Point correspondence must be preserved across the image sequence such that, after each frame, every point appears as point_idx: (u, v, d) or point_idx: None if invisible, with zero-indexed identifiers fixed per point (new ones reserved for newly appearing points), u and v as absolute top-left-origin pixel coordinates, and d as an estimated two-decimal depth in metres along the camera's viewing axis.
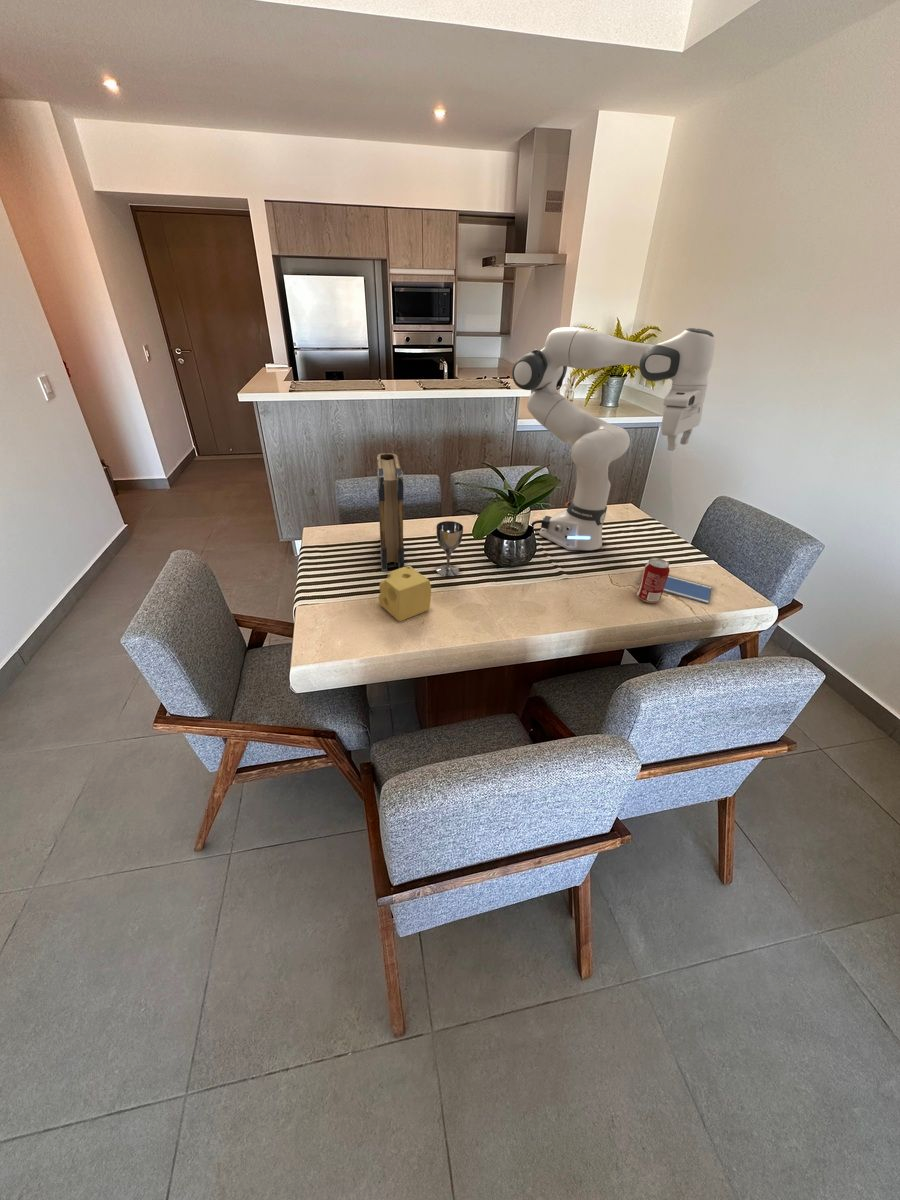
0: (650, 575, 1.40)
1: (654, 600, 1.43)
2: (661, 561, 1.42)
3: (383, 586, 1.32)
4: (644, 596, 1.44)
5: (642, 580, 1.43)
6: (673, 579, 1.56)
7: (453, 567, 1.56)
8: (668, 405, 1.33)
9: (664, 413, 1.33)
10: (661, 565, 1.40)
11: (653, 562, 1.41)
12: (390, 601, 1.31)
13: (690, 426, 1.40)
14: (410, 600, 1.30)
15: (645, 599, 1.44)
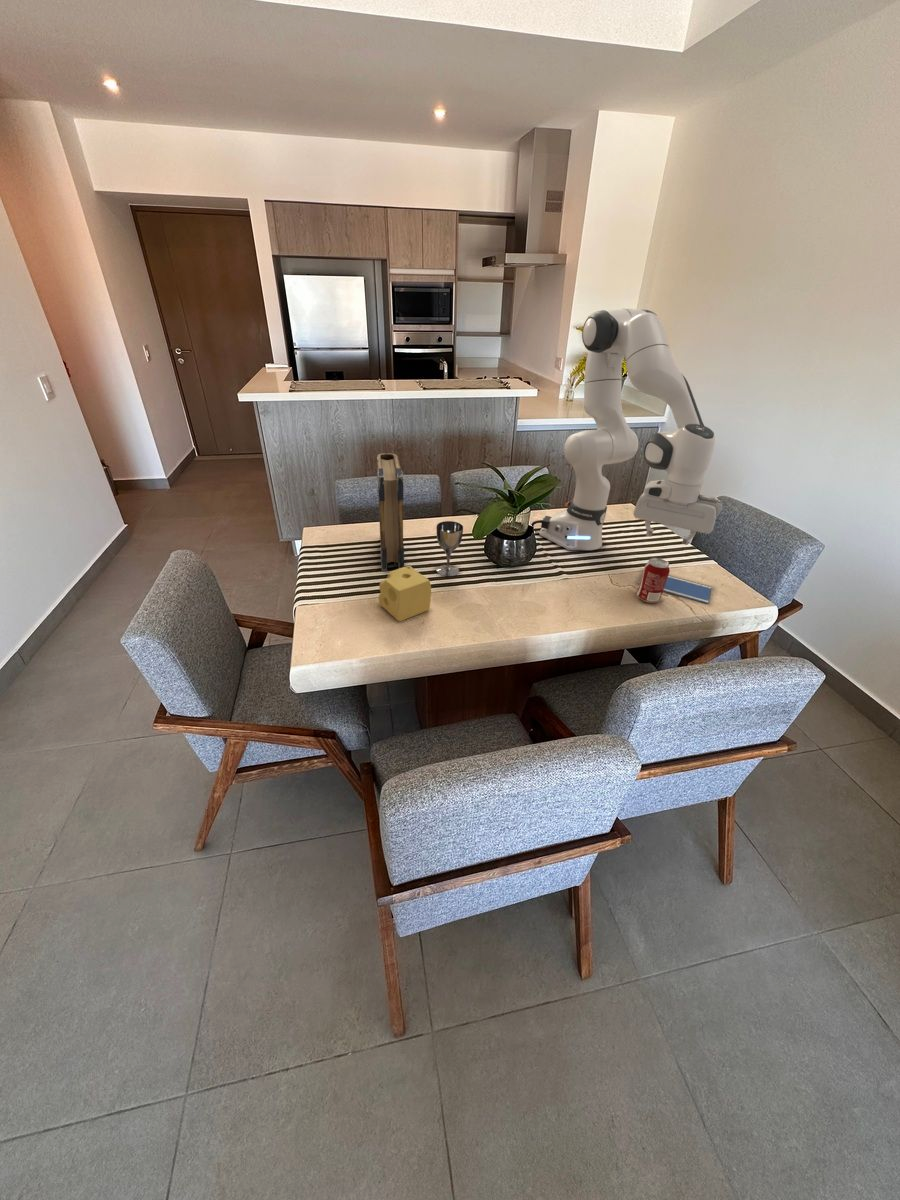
0: (650, 575, 1.40)
1: (654, 600, 1.43)
2: (661, 561, 1.42)
3: (382, 586, 1.32)
4: (644, 596, 1.44)
5: (642, 580, 1.43)
6: (673, 579, 1.56)
7: (453, 567, 1.56)
8: None
9: None
10: (661, 565, 1.40)
11: (653, 562, 1.41)
12: (390, 601, 1.31)
13: (678, 524, 1.31)
14: (410, 600, 1.30)
15: (645, 599, 1.44)
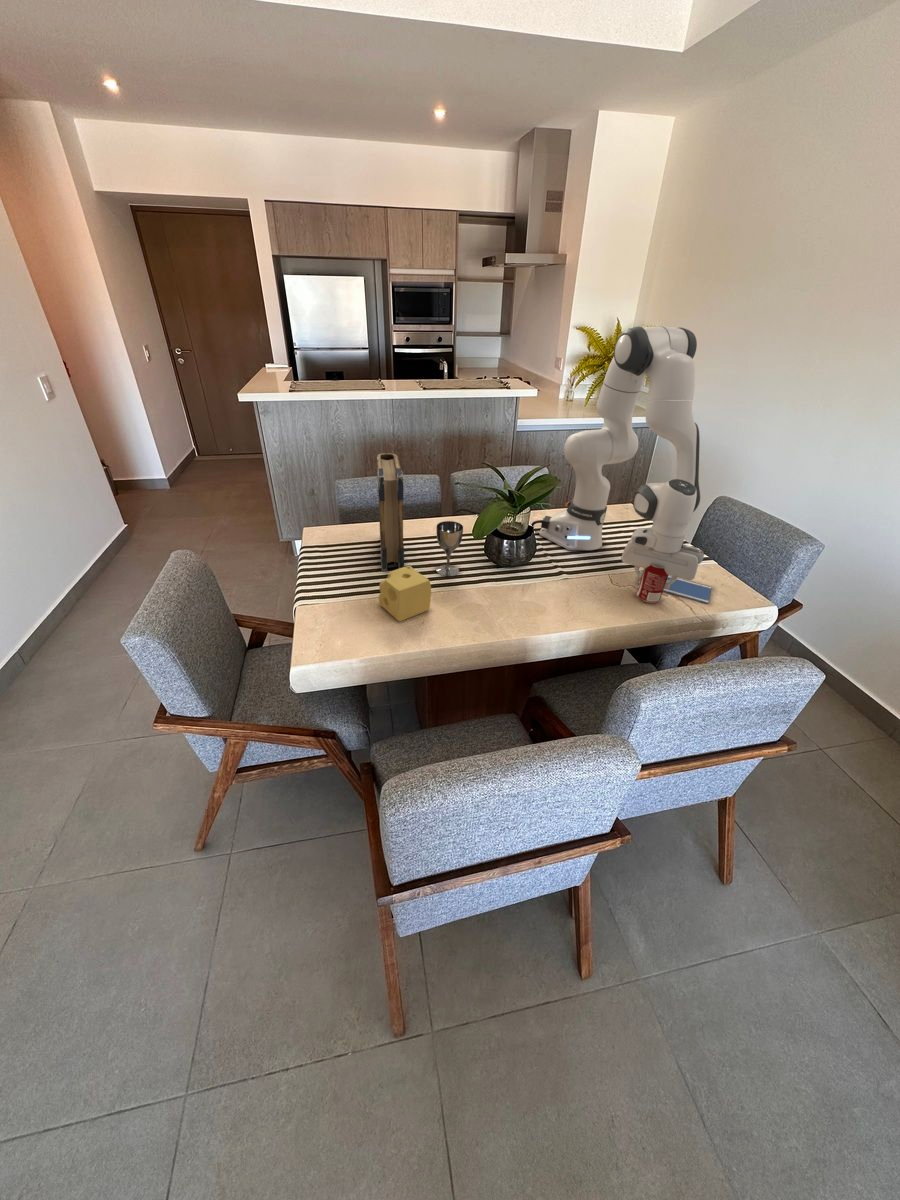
0: (650, 575, 1.40)
1: (654, 600, 1.43)
2: None
3: (382, 586, 1.32)
4: (644, 596, 1.44)
5: (642, 580, 1.43)
6: None
7: (453, 567, 1.56)
8: None
9: (629, 540, 1.43)
10: None
11: None
12: (390, 601, 1.31)
13: None
14: (410, 600, 1.30)
15: (645, 599, 1.44)
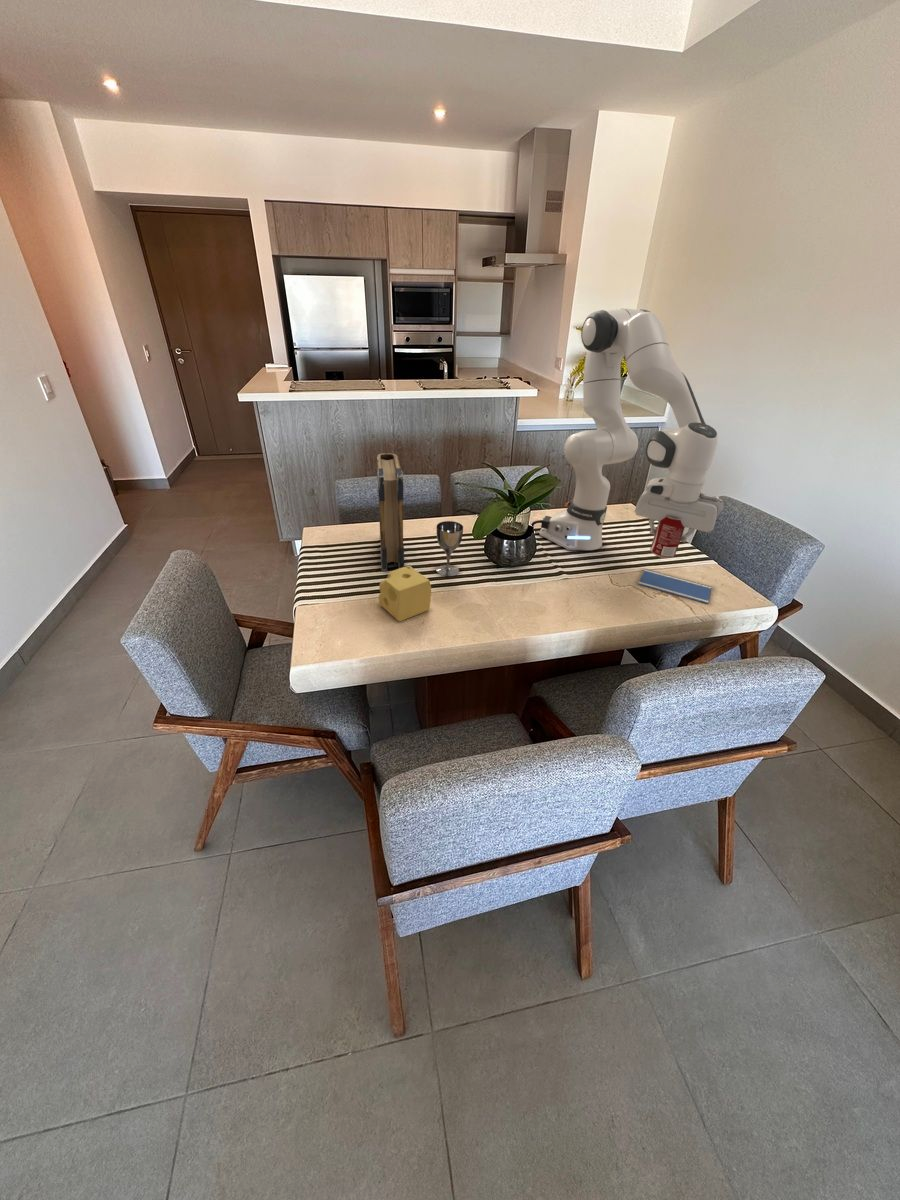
0: (666, 527, 1.33)
1: (669, 554, 1.36)
2: None
3: (383, 586, 1.32)
4: (658, 551, 1.37)
5: (657, 534, 1.36)
6: (673, 579, 1.56)
7: (453, 567, 1.56)
8: None
9: None
10: None
11: None
12: (390, 601, 1.31)
13: None
14: (410, 600, 1.30)
15: (659, 554, 1.37)
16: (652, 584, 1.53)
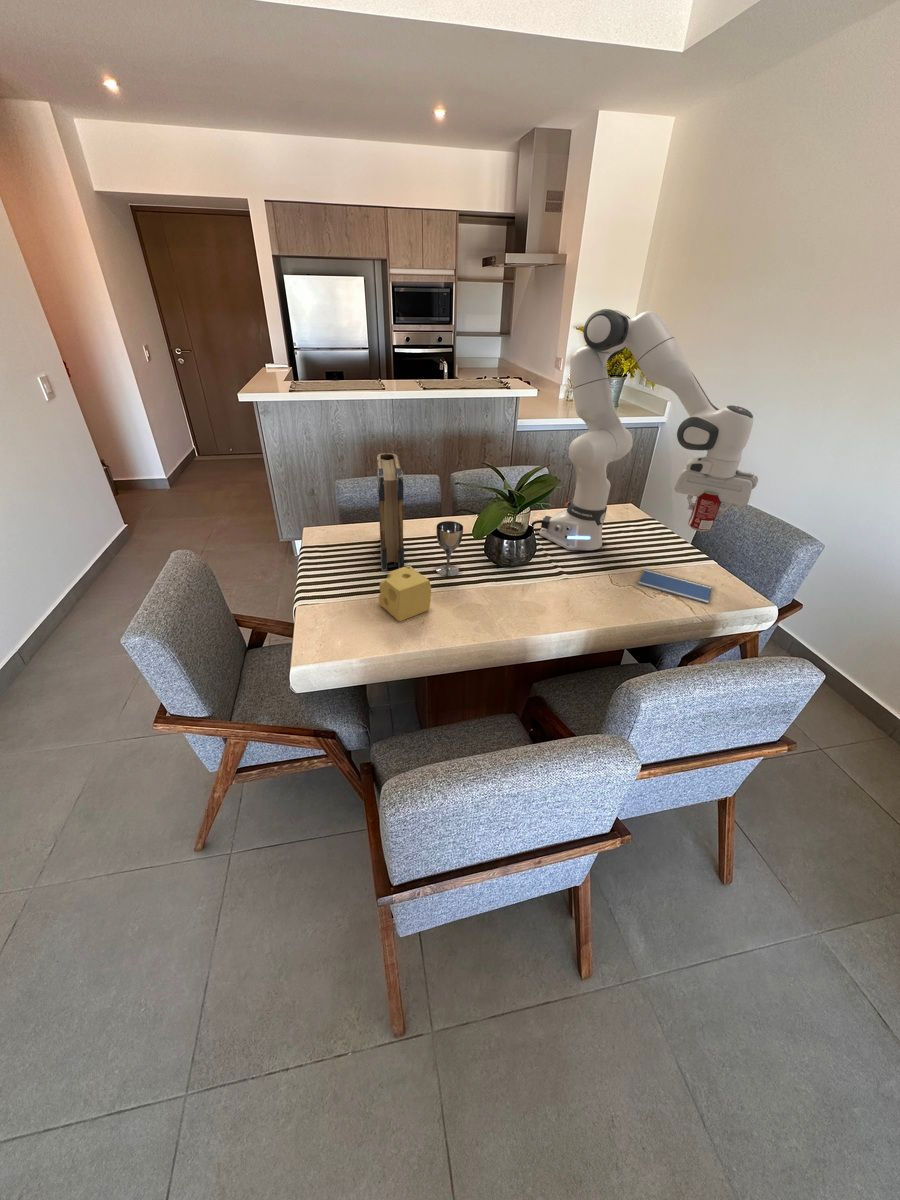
0: (704, 502, 1.45)
1: (706, 528, 1.49)
2: None
3: (382, 586, 1.32)
4: (696, 524, 1.49)
5: (695, 509, 1.49)
6: (673, 579, 1.56)
7: (453, 567, 1.56)
8: None
9: None
10: None
11: None
12: (390, 601, 1.31)
13: None
14: (410, 600, 1.30)
15: (697, 527, 1.49)
16: (652, 584, 1.53)
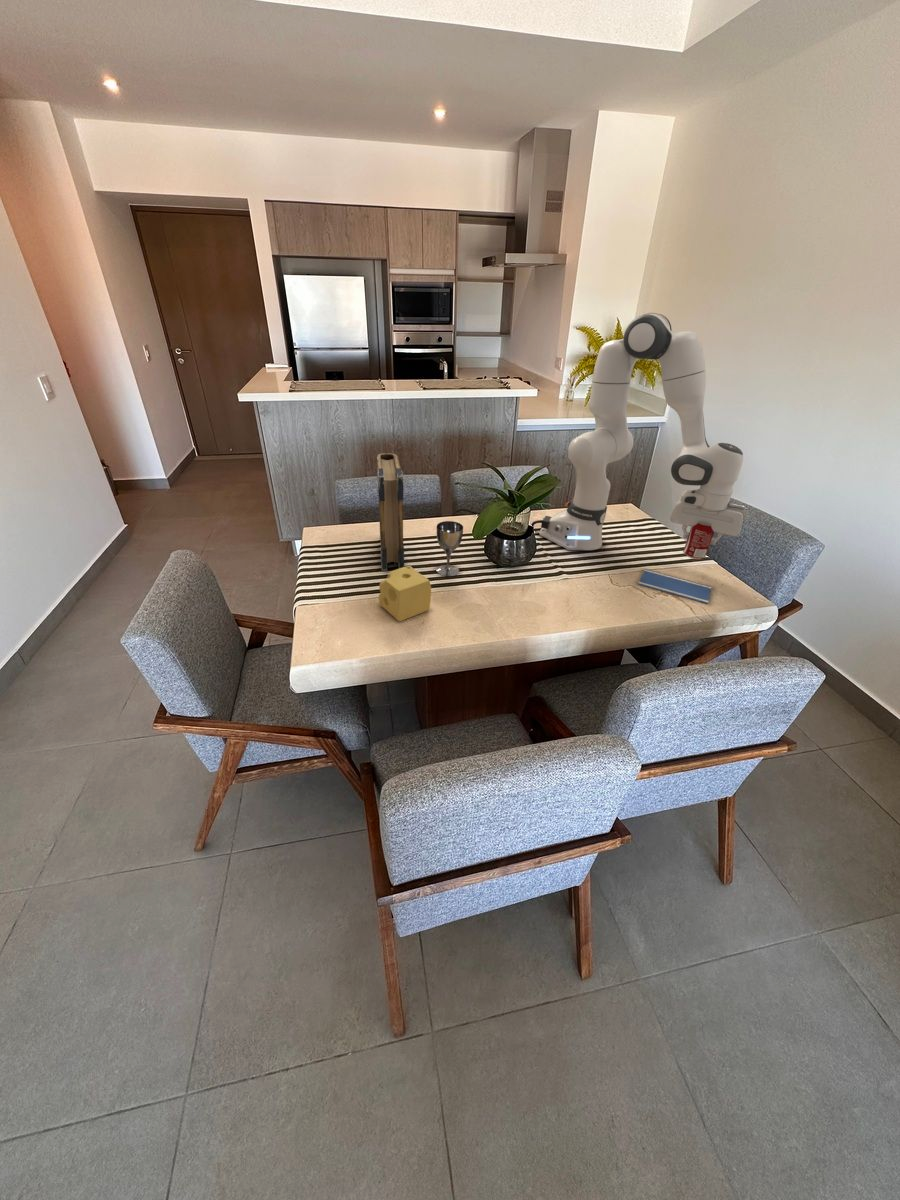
0: (698, 532, 1.53)
1: (700, 556, 1.56)
2: None
3: (383, 586, 1.32)
4: (691, 553, 1.57)
5: (689, 538, 1.56)
6: (673, 579, 1.56)
7: (453, 567, 1.56)
8: None
9: None
10: None
11: None
12: (390, 601, 1.31)
13: None
14: (410, 600, 1.30)
15: (692, 555, 1.57)
16: (652, 584, 1.53)
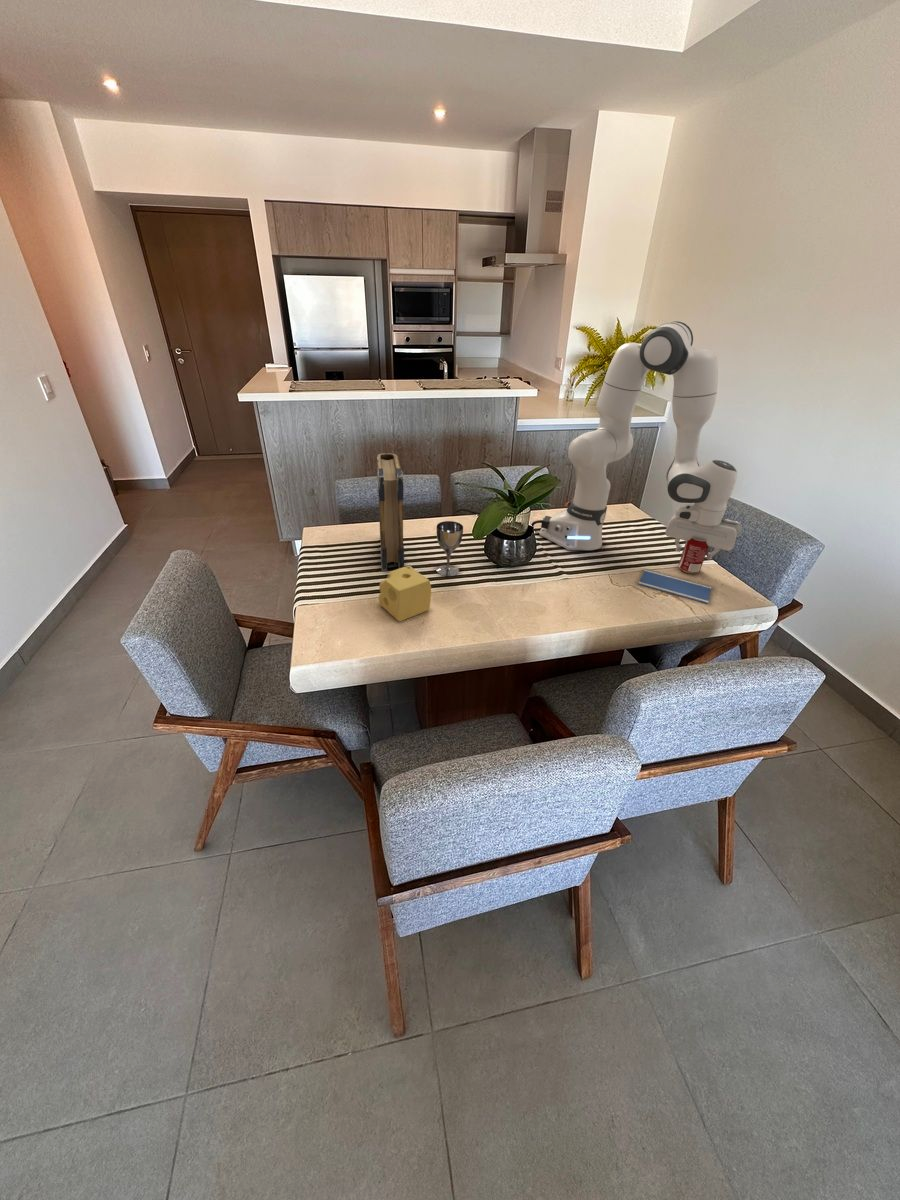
0: (692, 547, 1.56)
1: (695, 570, 1.59)
2: None
3: (382, 586, 1.32)
4: (685, 567, 1.60)
5: (684, 553, 1.59)
6: (673, 579, 1.56)
7: (453, 567, 1.56)
8: None
9: (672, 516, 1.59)
10: None
11: None
12: (390, 601, 1.31)
13: None
14: (410, 600, 1.30)
15: (686, 570, 1.60)
16: (652, 584, 1.53)
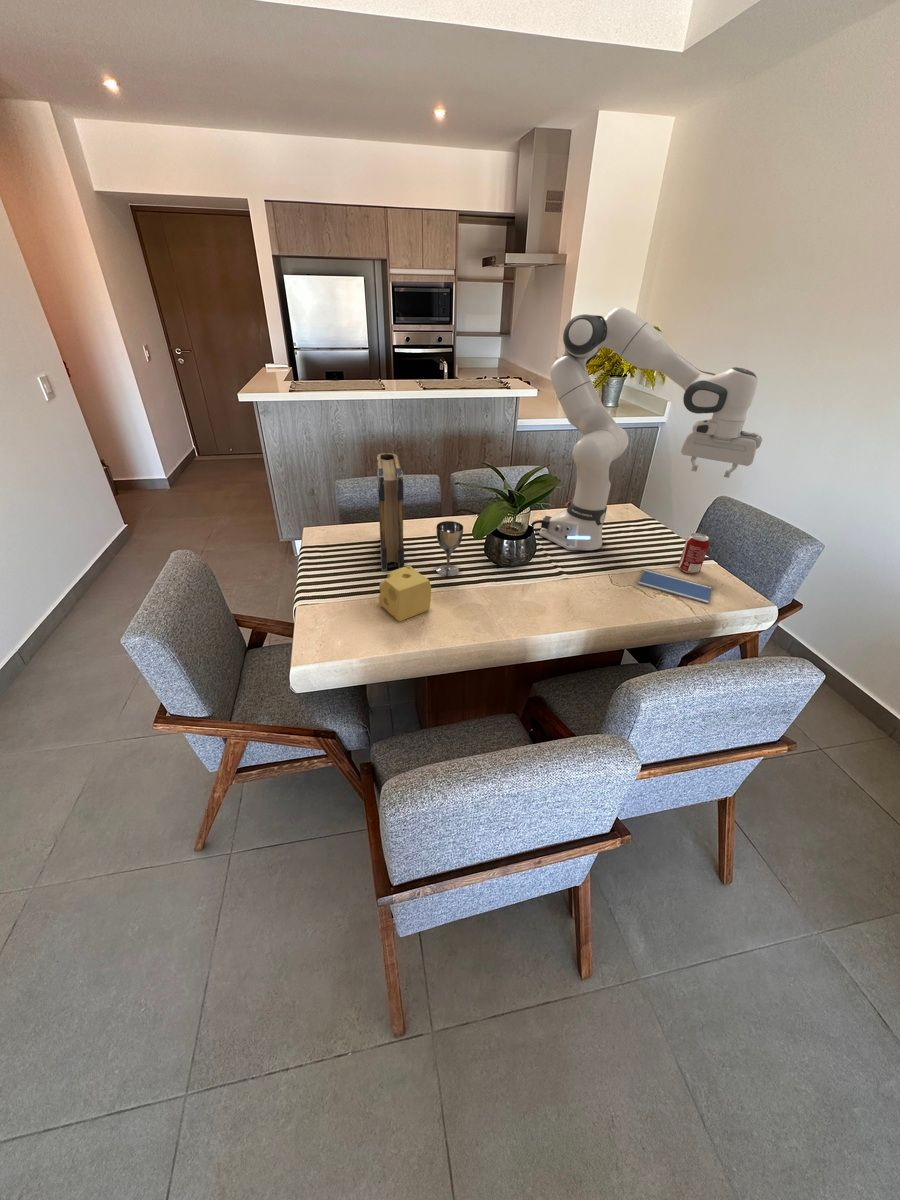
0: (692, 547, 1.56)
1: (695, 570, 1.59)
2: (701, 535, 1.58)
3: (383, 586, 1.32)
4: (685, 567, 1.60)
5: (684, 553, 1.59)
6: (673, 579, 1.56)
7: (453, 567, 1.56)
8: None
9: None
10: (702, 539, 1.56)
11: (694, 536, 1.57)
12: (390, 601, 1.31)
13: (722, 458, 1.50)
14: (410, 600, 1.30)
15: (686, 570, 1.60)
16: (652, 584, 1.53)
